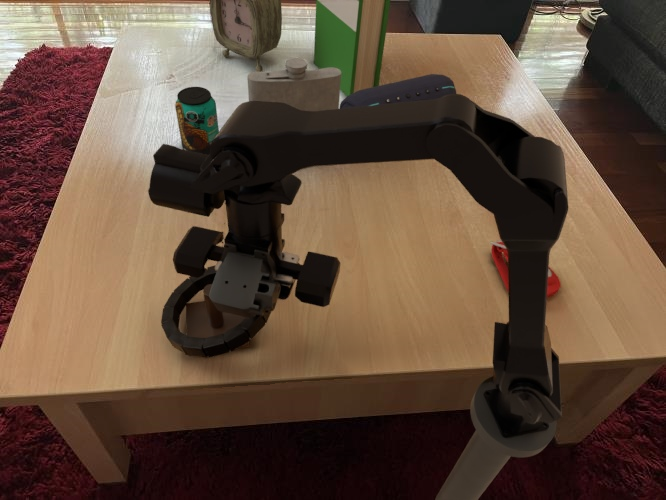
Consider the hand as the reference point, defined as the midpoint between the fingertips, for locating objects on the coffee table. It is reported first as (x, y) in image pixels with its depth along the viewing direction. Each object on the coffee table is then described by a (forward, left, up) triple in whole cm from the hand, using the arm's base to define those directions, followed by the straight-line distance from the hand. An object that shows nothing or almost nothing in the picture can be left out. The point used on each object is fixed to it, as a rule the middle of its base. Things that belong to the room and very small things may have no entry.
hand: (260, 308), depth 67 cm
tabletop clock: (+79, -7, -7) cm, 80 cm away
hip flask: (+39, -11, -7) cm, 41 cm away
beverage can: (+44, +6, -7) cm, 45 cm away
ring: (+3, +5, -3) cm, 7 cm away
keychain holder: (+4, -41, -5) cm, 41 cm away
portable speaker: (+47, -34, -7) cm, 59 cm away
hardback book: (+69, -28, -7) cm, 75 cm away
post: (+3, +6, -7) cm, 9 cm away
